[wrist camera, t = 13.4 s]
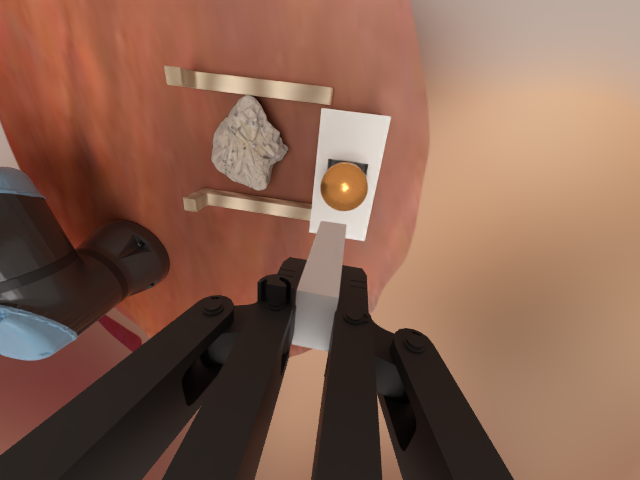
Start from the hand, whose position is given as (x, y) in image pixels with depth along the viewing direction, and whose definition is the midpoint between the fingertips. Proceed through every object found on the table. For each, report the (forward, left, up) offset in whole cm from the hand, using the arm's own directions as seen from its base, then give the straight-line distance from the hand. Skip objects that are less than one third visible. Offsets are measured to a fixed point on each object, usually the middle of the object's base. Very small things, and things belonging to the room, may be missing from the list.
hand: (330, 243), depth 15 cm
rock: (-15, +1, -28) cm, 32 cm away
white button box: (0, 0, -27) cm, 27 cm away
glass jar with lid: (0, 0, -21) cm, 21 cm away
